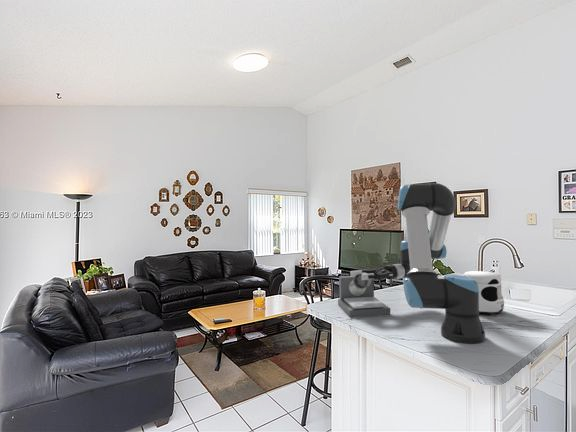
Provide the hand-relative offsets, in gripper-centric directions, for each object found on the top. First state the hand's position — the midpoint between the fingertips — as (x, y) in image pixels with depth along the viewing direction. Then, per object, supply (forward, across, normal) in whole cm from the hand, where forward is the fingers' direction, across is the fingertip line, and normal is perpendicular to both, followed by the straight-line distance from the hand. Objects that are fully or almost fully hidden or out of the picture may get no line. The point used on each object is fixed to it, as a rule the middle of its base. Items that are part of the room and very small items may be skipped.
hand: (356, 275), depth 163 cm
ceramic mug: (-3, +1, -7) cm, 7 cm away
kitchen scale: (-5, +2, -18) cm, 19 cm away
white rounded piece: (-55, -25, -18) cm, 63 cm away
